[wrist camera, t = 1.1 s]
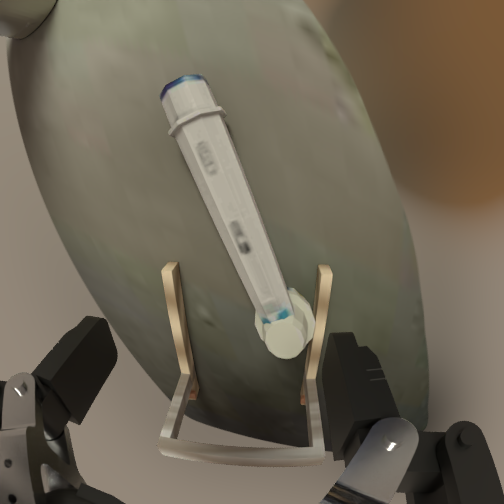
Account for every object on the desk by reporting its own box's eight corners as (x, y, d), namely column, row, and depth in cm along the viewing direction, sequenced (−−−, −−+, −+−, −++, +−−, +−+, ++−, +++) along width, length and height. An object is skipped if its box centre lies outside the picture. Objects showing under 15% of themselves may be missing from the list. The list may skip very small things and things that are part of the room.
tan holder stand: (166, 261, 26) (104, 341, 15) (331, 264, 25) (369, 354, 14) (189, 387, 33) (166, 465, 21) (310, 392, 32) (318, 475, 20)
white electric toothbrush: (205, 62, 16) (327, 367, 21) (225, 89, 22) (319, 328, 27) (142, 96, 17) (267, 384, 22) (175, 113, 23) (271, 343, 28)
